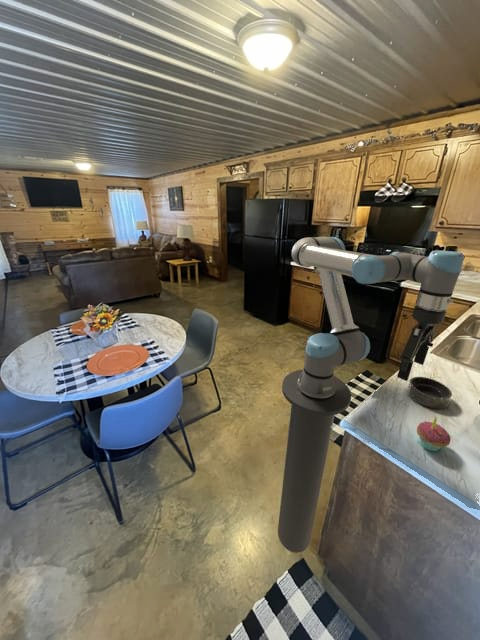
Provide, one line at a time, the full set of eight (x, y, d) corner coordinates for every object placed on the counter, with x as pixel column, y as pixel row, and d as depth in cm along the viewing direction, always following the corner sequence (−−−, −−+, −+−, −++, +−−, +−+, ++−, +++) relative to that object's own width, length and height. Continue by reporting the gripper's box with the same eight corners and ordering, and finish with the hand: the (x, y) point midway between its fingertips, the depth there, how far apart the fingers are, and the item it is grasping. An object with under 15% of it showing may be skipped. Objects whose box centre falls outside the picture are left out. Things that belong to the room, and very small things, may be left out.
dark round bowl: (401, 396, 103) (404, 385, 101) (413, 382, 111) (416, 372, 109) (441, 415, 94) (445, 404, 92) (451, 399, 101) (456, 388, 100)
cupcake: (433, 460, 77) (446, 429, 72) (406, 438, 84) (416, 408, 79) (451, 451, 80) (465, 420, 75) (424, 430, 87) (435, 401, 82)
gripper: (431, 322, 64) (408, 392, 72) (458, 301, 79) (437, 361, 87) (398, 313, 69) (381, 380, 78) (429, 295, 84) (412, 353, 93)
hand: (410, 370), depth 83 cm, fingers open, 13 cm apart
